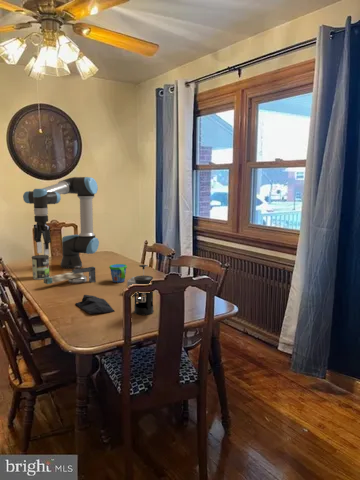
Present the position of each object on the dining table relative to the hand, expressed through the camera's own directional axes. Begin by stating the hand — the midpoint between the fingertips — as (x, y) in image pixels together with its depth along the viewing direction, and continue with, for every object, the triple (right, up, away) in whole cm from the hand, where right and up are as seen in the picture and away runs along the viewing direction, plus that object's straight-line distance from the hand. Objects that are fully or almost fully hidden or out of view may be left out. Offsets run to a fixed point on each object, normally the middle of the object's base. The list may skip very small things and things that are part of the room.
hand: (43, 253), depth 223 cm
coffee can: (-8, -16, +20) cm, 27 cm away
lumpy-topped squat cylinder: (+58, -22, -11) cm, 63 cm away
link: (+11, -16, +4) cm, 20 cm away
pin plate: (+17, -18, +12) cm, 27 cm away
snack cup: (+43, -18, +12) cm, 48 cm away
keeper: (+23, -18, +7) cm, 30 cm away
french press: (+65, -27, -44) cm, 82 cm away
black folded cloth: (+39, -26, -37) cm, 60 cm away
